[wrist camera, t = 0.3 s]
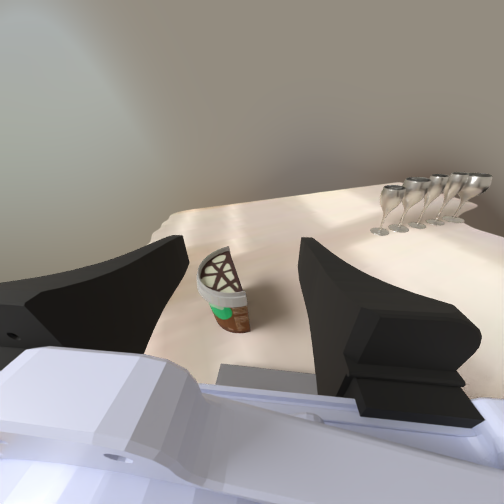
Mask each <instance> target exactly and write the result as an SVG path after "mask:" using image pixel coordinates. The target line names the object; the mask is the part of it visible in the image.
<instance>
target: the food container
mask: <svg viewBox="0 0 504 504" xmlns="http://www.w3.org/2000/svg"><path fill="white" fill-rule="evenodd" d="M197 288H198V291H199V293H200V295H201V296H202V297H203V298H204V299H205V300H206V301H207V302H209V304H210V307H211V309H212V311H213V313H214V316H215V318H216V320H217V322H218V324H219V325H220V326H221V327H222V328H223V329H225V330H227V331H229V332H233V333H246V332H250V325H249V317H248V309H247V305H248V303H247V298H246V293H245V291H243V290H242V287H241V284H240V281H239V278H238V275H237V272H236V269H235V266H234V264H233V261H232V258H231V254H230V249H229V246H227V247H224V248H221V249H218V250H216V251H214V252H213V253H211V254H209V255H208V256H207V257H206V258H205V259H204V260H203V261H202V262H201V264H200V266H199V268H198V272H197Z"/></svg>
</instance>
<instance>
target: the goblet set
mask: <svg viewBox="0 0 504 504" xmlns="http://www.w3.org/2000/svg"><path fill="white" fill-rule="evenodd" d="M491 181H492V175H489V174H483V173H462V172H454V173H452V174H451V175H450V177H449V176H448V175H444V174H433V175H431V177H430V178H429V179H428V178H422V177H409V178H406V180H405V182H404V183H403V185H402V186H398V185H387V186H384V188H383V190H382V192H381V195H380V205H381V207H382V210H383V219H382V223H381V226H380V228H372V229H371V230H370V231H371V232H372V233H373V234H376V235H381V236H385V235H388V234H389V232H388V231H387V230H385V229H382V225H383V223H384V221H385V218H386V216H387V215H388V214H389V212H391V211H392V210H393V209H395V208H396V207H397V206H398V205H399V204H400V203H401V201H402V203H403V206H404V212H403V215H402V218H401V221H400V223H399V225H390V226H388V228H389V229H390V230H392V231H395V232H402V233H404V232H408V231H409V229H408V228H407V227H405V226H402V225H401V223H402V221H403V219H404V216H405V214H406V212H407V211H408V210H409V208H411V207H412V206H413V205H415V204H416V203H418V202H419V201H420V200H422V199H423V198H424V208H423V211H422V213H421V216H420V218H419V220H418V222H411V223H408V225H409V226H411V227H413V228H418V229H423V228H426V226H425V225H424V224H421V223H419V222H420V219H421V217H422V215H423V213H424V212H425V210H426V208H427V207H428V206H429V204H430V203H431V202H432V201H434V200H435V199H436V198H437V197H438V196H439V195H440V194H441V193H442V191H443V190H444V202H443V205H442V208H441V210H440V212H439V214H438V216H437V218H436V220H434V219H429V220H426V222H427V223H429V224H432V225H444V223H443V222H442V221H439V220H437V219H438V217H439V216H440V214H441V212H442V210H443V209H444V207H445V205H446V204H447V203H448V202H449V200H451V199H452V198H453V197H454V196H455V195H456V194H458V195H459V196H460V198H461V202H460V205H459V208H458V210H457V211H456V213H455V215H454V216H443V217H442V219H443V220H445V221H448V222H453V223H463V222H464V220H463V219H461V218H458V217H456V215H457V213H458V211H459V210H460V208H461V207H462V205H463V204H464V203H465V202H466V201H467V200H469V199H470V198H472V197H475V196H477V195H480V194H482V193H484V192H485V191H486V190H487V189H488V188H489V187H490V185H491Z"/></svg>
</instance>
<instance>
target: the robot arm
mask: <svg viewBox="0 0 504 504" xmlns="http://www.w3.org/2000/svg"><path fill="white" fill-rule="evenodd" d="M188 265H189V259H188V255H187V251H186V247H185V243H184V239H183V235H172V236H169V237H166V238H163V239H161V240H158V241H156V242H154V243H151V244H149V245H147V246H144V247H142V248H140V249H137V250H135V251H133V252H130V253H127V254H125V255H122V256H119V257H117V258H114V259H111V260H108V261H104V262H102V263H98V264H94V265H91V266H87V267H83V268H79V269H75V270H71V271H66V272H62V273H57V274H52V275H47V276H42V277H37V278H30V279H23V280H17V281H10V282H3V283H0V504H504V399H498V398H475V399H471V400H470V399H469V398H468V397H467V395H466V394H465V393H464V391H463V390H462V389H461V387H464V386H465V385H466V384H465V381H464V380H463V378H462V377H461V376H460V375H459V373H458V372H457V371H456V370H457V369H458V368H459V367H460V366H461V365H462V364H463V363H464V362H466V361H467V360H468V359H469V358H470V357H471V356H472V355H473V354H474V353H475V352H476V350H477V349H478V348H479V346H480V343H481V339H482V335H481V332H480V330H479V329H478V328H477V327H476V326H475V325H474V324H473V323H472V322H471V321H470V320H469V319H468V318H467V317H466V316H465V315H464V314H462V313H461V312H460V311H459V310H458V309H457V308H456V307H455V306H454V305H452V304H448V303H445V302H442V301H438V300H435V299H432V298H428V297H425V296H422V295H418V294H415V293H412V292H410V291H407V290H404V289H401V288H399V287H396V286H393V285H391V284H388V283H386V282H383V281H381V280H379V279H377V278H375V277H372V276H370V275H368V274H366V273H364V272H362V271H360V270H358V269H357V268H355V267H353V266H351V265H350V264H348V263H346V262H345V261H343V260H342V259H340V258H339V257H337V256H336V255H334V254H333V253H332V252H330V251H329V250H328V249H326V248H325V247H324V246H323V245H321V244H320V243H319V242H318V241H316V240H315V239H314V238H308V237H301V244H300V252H299V261H298V273H299V281H300V285H301V289H302V293H303V297H304V301H305V305H306V309H307V313H308V318H309V324H310V331H311V339H312V347H313V355H314V364H315V373H316V383H317V393H318V395H312V394H302V393H292V392H282V391H272V390H262V389H252V388H242V387H232V386H222V385H212V384H202V383H197V381H196V379H195V378H194V377H193V376H192V375H191V374H190V373H189V371H188V370H187V369H185V368H183V367H181V366H179V365H177V364H176V363H174V362H172V361H170V360H168V359H163V358H159V357H154V356H150V355H146V354H144V352H145V350H146V347H147V344H148V342H149V340H150V337H151V335H152V333H153V330H154V328H155V326H156V324H157V322H158V320H159V318H160V315H161V313H162V311H163V309H164V308H165V306H166V304H167V302H168V301H169V299H170V298H171V296H172V295H173V293H174V291H175V290H176V288H177V287H178V285H179V283H180V282H181V280H182V278H183V277H184V275H185V273H186V270H187V268H188Z"/></svg>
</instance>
